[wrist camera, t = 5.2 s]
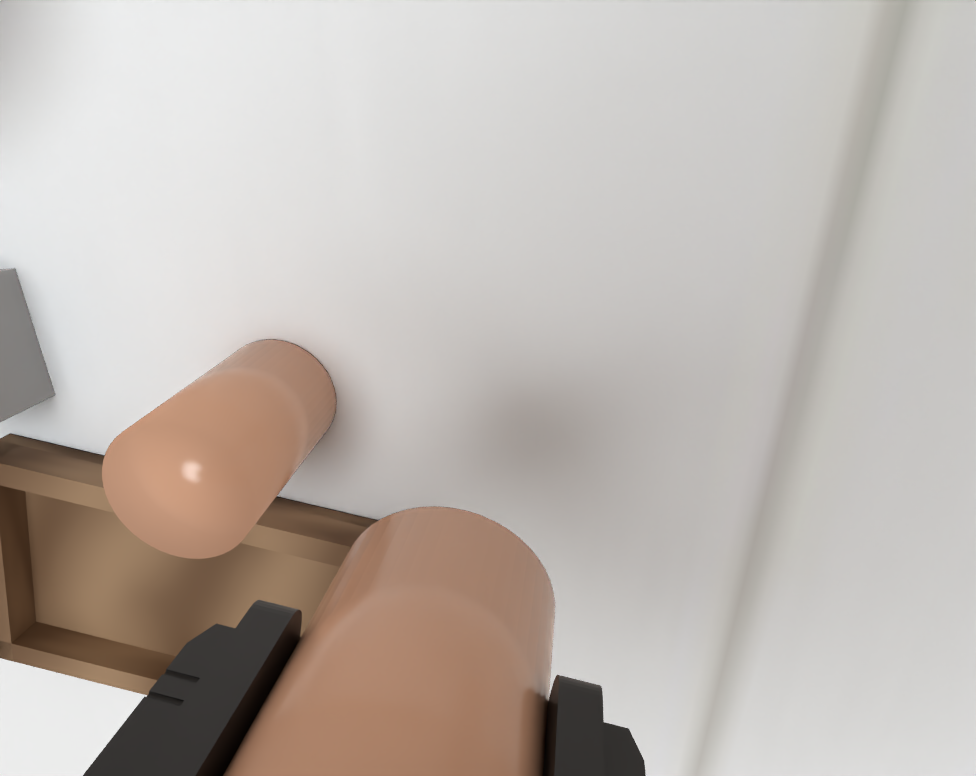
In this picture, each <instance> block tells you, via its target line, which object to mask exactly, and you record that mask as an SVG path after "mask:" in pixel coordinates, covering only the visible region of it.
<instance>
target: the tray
mask: <svg viewBox="0 0 976 776" xmlns="http://www.w3.org/2000/svg"><path fill="white" fill-rule="evenodd" d="M104 457H105V456H102V455H98V454H93V453H89V452H85V451H81V450H77V449H72V448H68V447H64V446H60V445H55V444H51V443H47V442H43V441H38V440H34V439H30V438H26V437H22V436H17V435H13V434H8V435H6V436H4V437H3V438H1V439H0V658H2V659H6V660H10V661H14V662H18V663H22V664H26V665H30V666H34V667H38V668H42V669H46V670H50V671H54V672H58V673H62V674H66V675H70V676H74V677H77V678H81V679H85V680H89V681H93V682H97V683H101V684H105V685H109V686H113V687H117V688H121V689H125V690H129V691H133V692H137V693H141V694H145V695H148V694H149V691H150V689H151V688H152V687H153V685H154V684H155V683H156V682H157V680H158V679H159V678H160V676H161V675H162V674H163V675H164V674H165V672H166V669H167V668H168V666H169V665H170V664H171V662H172V661H173V660H174V659H175V657H176V656H177V655H178V653H179V652H180V651H181V650H182V648H183V647H184V646H185V645H186V643H187V642H189V641H190V640H192V639H193V638H195V637H196V636H198V635H200V634H201V633H203V632H204V631H206V630H207V629H209V628H210V627H212V626H213V625H215V624H220V625H224V626H228V627H232V628H236V627H237V625H238V624H239V622H240V621H241V620H242V618H243V617H244V615H245V614H246V612H247V611H248V610H249V608H250V607H251V606H252V604H253V603H254V602H255V601H257V600H263V601H267V602H271V603H275V604H279V605H283V606H287V607H291V608H295V609H299V610H301V612H302V624H301V634H300V637H301V636H302V634H303V632H304V630H305V628H306V627H307V625H308V623H309V621H310V619H311V618H312V616H313V614H314V612H315V611H316V609H317V607H318V605H319V603H320V602H321V600H322V598H323V596H324V595H325V593H326V591H327V589H328V587H329V586H330V584H331V582H332V580H333V579H334V577H335V575H336V573H337V571H338V570H339V568H340V566H341V564H342V563H343V561H344V559H345V557H346V555H347V554H348V552H349V550H350V549H351V547H352V545H353V543H354V542H355V541H356V540H357V538H358V537H359V536H360V535H361V534H362V533H363V532H364V531H365V530H366V529H367V528H369V527H370V526H371V525H372V524H374V523H376V522H377V520H373V519H368V518H364V517H360V516H356V515H352V514H347V513H343V512H339V511H335V510H330V509H326V508H322V507H318V506H313V505H309V504H305V503H301V502H297V501H292V500H288V499H284V498H280V497H276V498H275V499H274V500H273V501H272V503H271V504H270V505H269V507H268V508H267V509H266V511H265V512H264V513H263V515H262V516H261V517H260V518H259V520H258V521H257V522H256V524H255V525H254V526H253V528H252V529H251V530H250V531H249V533H248V534H247V535H246V537H245V538H244V539H243V540H242V541H241V542H240V543H239V544H238V545H237V546H236V547H235V548H233V549H232V550H230V551H228V552H226V553H224V554H222V555H219V556H216V557H211V558H204V559H190V558H183V557H178V556H174V555H170V554H167V553H165V552H162V551H160V550H158V549H156V548H154V547H152V546H150V545H148V544H147V543H145V542H143V541H142V540H141V539H139V538H138V537H137V536H135V535H134V534H133V533H132V532H131V531H130V530H129V529H128V528H127V527H126V526H125V525H124V524H123V523H122V522H121V521H120V519H119V518H118V517H117V515H116V514H115V512H114V511H113V509H112V507H111V505H110V504H109V501H108V499H107V497H106V494H105V490H104V487H103V481H102V465H103V459H104Z"/></svg>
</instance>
